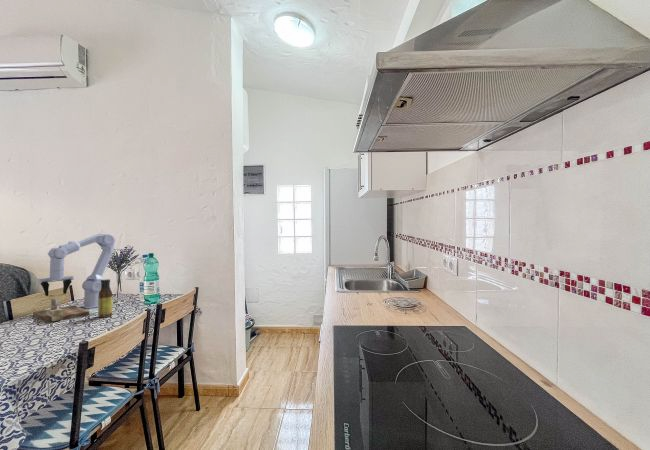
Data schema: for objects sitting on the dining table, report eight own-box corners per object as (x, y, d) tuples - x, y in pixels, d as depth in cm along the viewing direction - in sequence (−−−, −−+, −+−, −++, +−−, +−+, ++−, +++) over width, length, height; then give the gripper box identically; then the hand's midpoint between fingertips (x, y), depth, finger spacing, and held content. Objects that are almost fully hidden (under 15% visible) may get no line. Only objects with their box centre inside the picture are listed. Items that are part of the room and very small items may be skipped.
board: (74, 309, 180) (74, 305, 180) (89, 315, 169) (89, 311, 169) (33, 315, 165) (33, 311, 165) (46, 322, 154) (46, 318, 154)
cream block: (56, 316, 163) (56, 297, 164) (62, 319, 158) (63, 300, 159) (46, 318, 160) (47, 299, 160) (52, 321, 155) (53, 301, 155)
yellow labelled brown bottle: (115, 315, 171) (116, 278, 171) (106, 318, 164) (107, 280, 165) (104, 314, 171) (105, 278, 171) (94, 317, 165) (96, 280, 165)
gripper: (70, 267, 178) (69, 291, 178) (36, 270, 166) (35, 295, 166) (75, 269, 174) (74, 293, 174) (41, 271, 162) (40, 297, 162)
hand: (55, 294), depth 170 cm, fingers open, 7 cm apart
